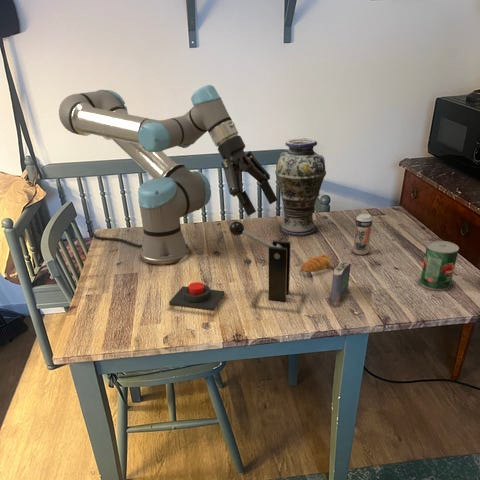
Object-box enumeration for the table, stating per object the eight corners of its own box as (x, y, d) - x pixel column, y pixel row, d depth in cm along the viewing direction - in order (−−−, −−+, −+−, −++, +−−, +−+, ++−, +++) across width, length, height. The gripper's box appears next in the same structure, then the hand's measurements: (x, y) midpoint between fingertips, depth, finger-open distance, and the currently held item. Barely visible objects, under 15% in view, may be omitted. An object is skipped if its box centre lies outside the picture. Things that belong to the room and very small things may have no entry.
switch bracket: (252, 306, 120) (251, 249, 111) (261, 290, 127) (260, 236, 119) (298, 312, 116) (300, 254, 108) (304, 295, 124) (307, 239, 115)
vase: (310, 242, 155) (315, 148, 139) (265, 233, 163) (265, 143, 148) (330, 226, 167) (336, 138, 151) (287, 219, 175) (289, 134, 159)
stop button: (186, 294, 119) (186, 288, 118) (192, 287, 122) (191, 281, 121) (201, 296, 118) (200, 290, 117) (206, 288, 121) (206, 283, 120)
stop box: (169, 309, 120) (168, 295, 118) (183, 293, 127) (182, 280, 125) (213, 315, 117) (212, 301, 115) (224, 298, 124) (224, 284, 122)
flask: (338, 306, 118) (341, 268, 113) (327, 304, 119) (329, 266, 114) (349, 291, 125) (352, 254, 119) (338, 289, 126) (341, 252, 121)
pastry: (311, 278, 132) (312, 266, 130) (295, 271, 137) (295, 259, 135) (333, 269, 137) (334, 257, 135) (317, 262, 141) (317, 250, 140)
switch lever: (225, 233, 114) (230, 221, 112) (230, 228, 117) (235, 216, 115) (279, 263, 114) (286, 251, 112) (283, 257, 117) (289, 245, 115)
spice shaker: (351, 254, 146) (355, 217, 139) (354, 248, 149) (357, 212, 143) (366, 256, 144) (371, 219, 138) (369, 250, 148) (373, 214, 141)
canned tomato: (451, 291, 123) (460, 253, 117) (420, 288, 125) (427, 250, 119) (449, 278, 129) (457, 241, 124) (419, 276, 131) (426, 239, 126)
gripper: (213, 140, 121) (252, 213, 124) (258, 128, 139) (291, 192, 143) (194, 154, 125) (232, 224, 129) (240, 141, 144) (272, 203, 148)
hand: (263, 208), depth 136 cm, fingers open, 13 cm apart
